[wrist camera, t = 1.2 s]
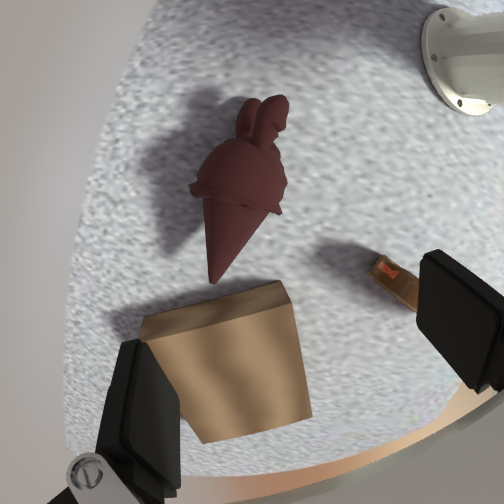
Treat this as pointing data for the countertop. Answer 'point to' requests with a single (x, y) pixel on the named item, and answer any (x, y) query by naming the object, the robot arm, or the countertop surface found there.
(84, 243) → the countertop surface
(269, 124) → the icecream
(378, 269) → the tin
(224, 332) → the base
